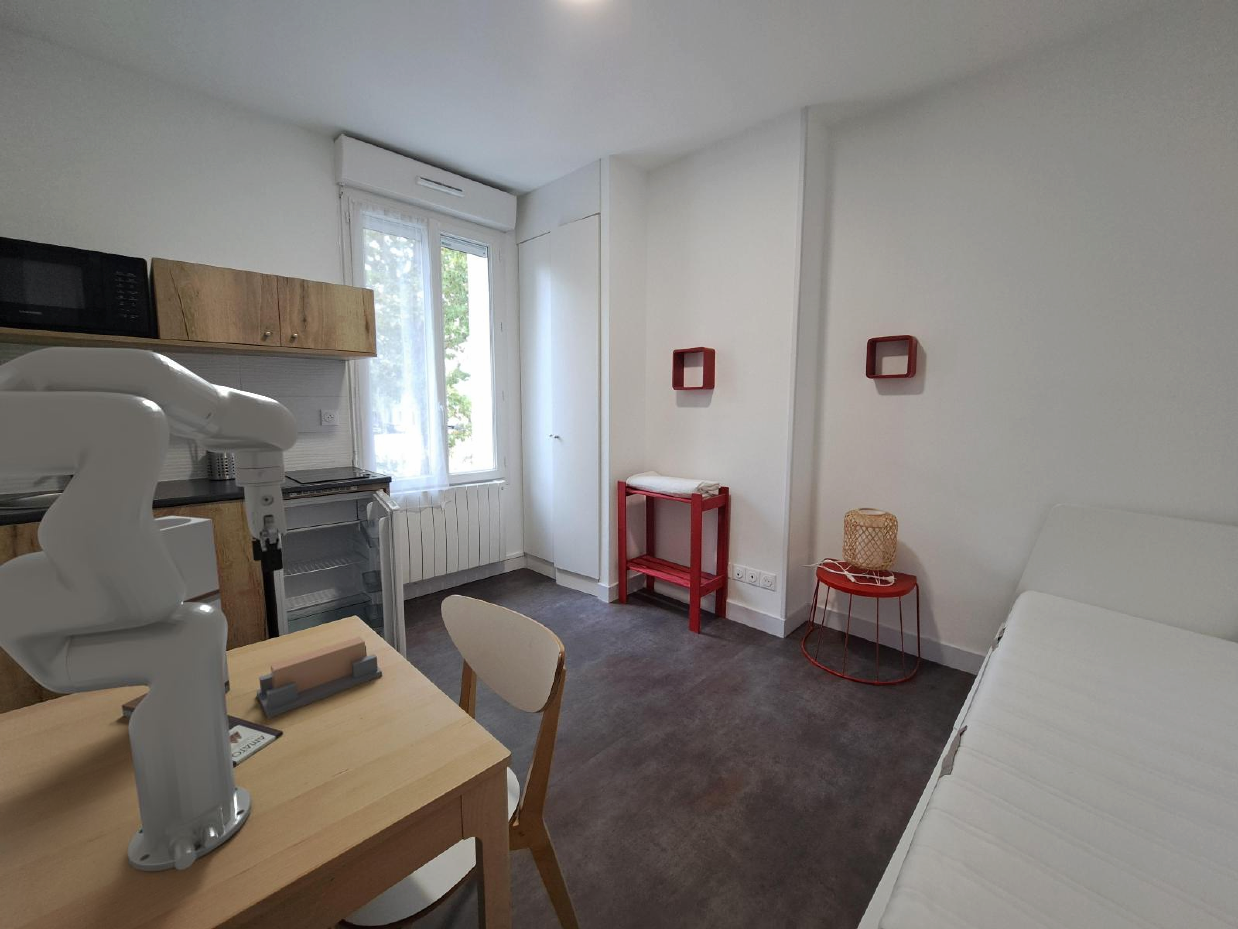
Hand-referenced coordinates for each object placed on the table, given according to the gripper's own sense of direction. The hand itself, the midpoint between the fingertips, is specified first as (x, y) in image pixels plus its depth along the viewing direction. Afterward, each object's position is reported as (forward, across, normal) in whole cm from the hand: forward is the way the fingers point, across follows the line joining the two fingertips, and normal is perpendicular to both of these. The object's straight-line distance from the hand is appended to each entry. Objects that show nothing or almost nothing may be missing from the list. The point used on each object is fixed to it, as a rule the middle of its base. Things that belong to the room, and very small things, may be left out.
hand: (268, 564), depth 94 cm
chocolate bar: (+27, -8, +10) cm, 30 cm away
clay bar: (+25, -2, -7) cm, 26 cm away
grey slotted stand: (+26, -2, -7) cm, 27 cm away
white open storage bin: (+26, +10, +14) cm, 32 cm away
